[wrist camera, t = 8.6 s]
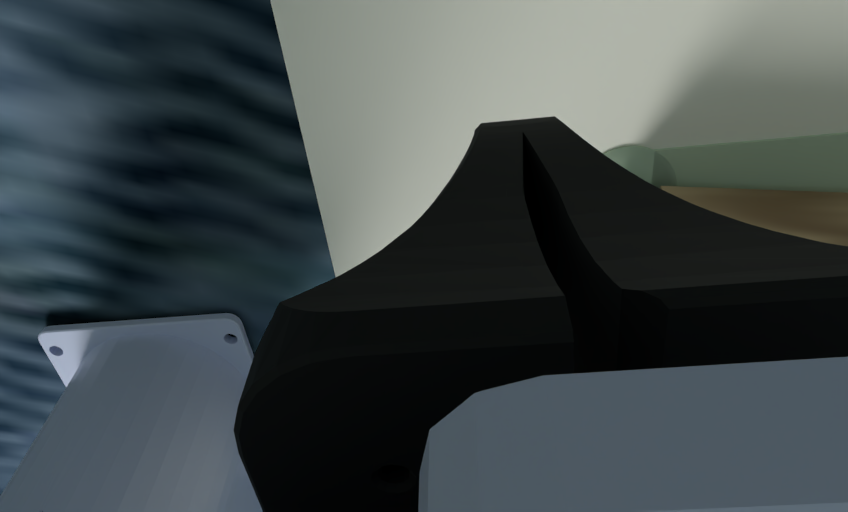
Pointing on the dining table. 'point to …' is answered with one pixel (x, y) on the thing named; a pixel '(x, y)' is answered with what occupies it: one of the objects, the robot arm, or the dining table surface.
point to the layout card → (560, 94)
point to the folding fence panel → (777, 210)
